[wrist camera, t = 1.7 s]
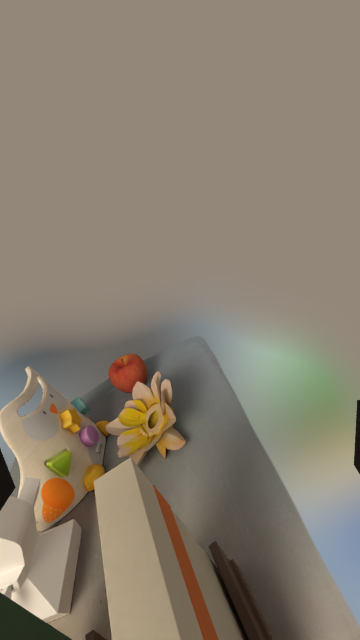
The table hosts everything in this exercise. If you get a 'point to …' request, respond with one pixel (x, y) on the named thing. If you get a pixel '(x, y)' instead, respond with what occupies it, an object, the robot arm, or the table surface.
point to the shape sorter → (54, 448)
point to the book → (157, 567)
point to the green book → (24, 624)
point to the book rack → (239, 596)
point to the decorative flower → (147, 422)
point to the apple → (128, 372)
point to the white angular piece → (37, 557)
